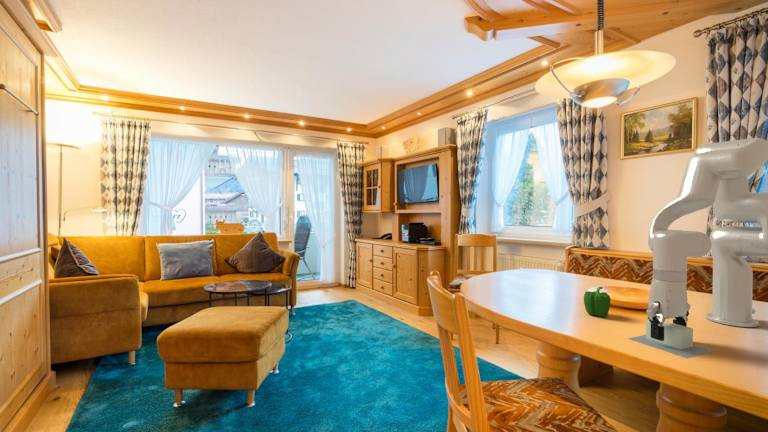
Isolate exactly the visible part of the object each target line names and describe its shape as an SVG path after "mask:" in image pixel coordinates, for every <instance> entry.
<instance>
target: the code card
mask: <svg viewBox="0 0 768 432" xmlns="http://www.w3.org/2000/svg"><path fill="white" fill-rule="evenodd" d="M627 339H628V340H631V341H634V342H636V343H640V344H642V345H646V346H649V347H652V348H655V349H658V350H660V351H664V352H667V353H670V354H672V355H675V356H679V357H682V358H685V359H690V358H694V357H698V356H703V355H704V354H705V355H706V354H709V353H713V352H715V350H713V349H709V348H706V347H702V346H699V345H697V344H693V347H690V348H685V349H678V348H675V347H672V346H669V345H666V344H663V343H659V342H656V341H653V340H650V339H647V338H646V334H644V335H638V336H632V337H628V338H627Z"/></svg>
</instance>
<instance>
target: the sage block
mask: <svg viewBox="0 0 768 432" xmlns="http://www.w3.org/2000/svg"><path fill="white" fill-rule="evenodd" d="M657 319H658V318H657ZM658 320H660V318H659V319H658ZM645 322H646V323H645V325H646V326H645V333H646V334H645V335H646V338H647V339H650V340H653V341H656V342H659V343H663V344H666V345H669V346H672V347H675V348H678V349H685V348H690V347H693V345H694V328H692V327H688V326H687V327H685V326H682V325H678V324H674V323H673V322H669V321H666V320H665V321H664V323H663V325H662V326H664V341H660V340H657V339H654V338H651V324H650V323H649V320H646V321H645Z"/></svg>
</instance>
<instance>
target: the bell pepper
mask: <svg viewBox="0 0 768 432" xmlns="http://www.w3.org/2000/svg"><path fill="white" fill-rule="evenodd" d="M602 289H603V286H601V285H598V287H597V288H596V291H595V290H594V291H587V290H586V291H584V296H583V305H584V308H585V311H586V313H587V314H588V315H590V316H593V317H594V316H597V317H601V318H602V317H603V318H604V317H607V316H608V314H609V311H610V308H611V300H612V299H611V297H610V294H608V293H607V292H600V290H602Z"/></svg>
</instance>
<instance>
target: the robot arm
mask: <svg viewBox="0 0 768 432" xmlns="http://www.w3.org/2000/svg"><path fill="white" fill-rule="evenodd" d="M767 162H768V141H767V140H765V138H761V137H752V138H745V139H744V138H743V139H737V140H728V141H727V140H726V141H719V142H712V143H707V144H703V145H700V146H698V147H696V148H695V150H694V152H693V155H692V156H690V157H689V159H688V161H687V162H686V167H685V168H684V169H685V170H684V172H683V173H684V174H683V176H682V180H681V184H680V188H679V191H678V195H677V196H676V198H674V199H673V200H672V201H670V202H668V203H667V204H666V205H665V206H663V208H662V209H660V210H659V211H658V212H657V214H656V215H655V216H654V218H653V220H652V223H651V227H650V230H649V232H648V237H647V244H648V248H649V250H650V251H651V252H652V281H651V282H650V289H649V295H648V305H647V306H648V308H647V309H646V315H647V320H648V321H649V323H650V324H651V338H654V339H657V340H660V341H664V326H662V325H663V323H664V321H666V320H668V319H672V323H674V324H678V325H682V326H685V327H688V325H687V324H688V323H687V322H688V321H689V318H688V317H689V315H690V309H691V304H690V303H688V302H689V301H688V289H687V283H688V258H695V259H696V258H703V257H705V256H706V255H708V254H709V253H710V251H711V255H712V297H711V298H712V300H711V301H712V302H711V303H712V304H711V305H712V306H711V307H712V308H711V311H712V312H708V313H706V314H705V318H706V319H707V320H709V321H711V322H715V323H718V324H722V325H728V326H733V327H738V328H739V327H741V328H756V327H759V326H760V322H759V321H758V320H757V319H754V318H753V315H754V314H755V313H756V312H757V311H756V309H755V308H753V287H754V286H753V284H754V283H753V281H754V278H753V277H754V273H753V268H752V266H751V265H750V262H748V261H747V260H746V259H745V258H744V257H748V258H749V257H750V258H751V257H752V258H762V259H768V192H750V188H749V178H748V176H750V175H752V174H753V173H755V172H756V171H757V170H758V169H760V168H761V167H763V166H764V165H765V164H766V163H767ZM711 206H713V213H714V217H715V218H716V219H717V220H718V221H720V222H723V223H724V222H725V223H734V224H735V223H736V224H737V223H738V224H739V223H740V224H742V223H743V224H758V225H760V227H759V226H742V225H741V226H738V225H737V226H735V225H725V226H719V227H716V228H714V229H712V231H711V232H710V233H709V236H708V235H707V234H706V233H704V232H701V231H695V230H679V229H669V227H671V225H672V224H673V223H674V222H676V221H677V220H679V219H680V218H682V217H684V216H687V215H690V214H692V213H696V212H698V211H701V210H704V209H707V208H710V207H711ZM658 318H659V320H658Z"/></svg>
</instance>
